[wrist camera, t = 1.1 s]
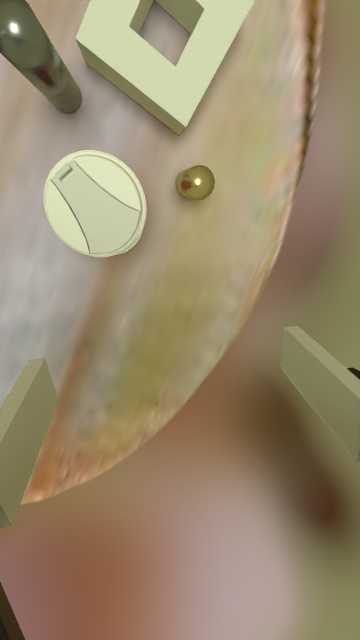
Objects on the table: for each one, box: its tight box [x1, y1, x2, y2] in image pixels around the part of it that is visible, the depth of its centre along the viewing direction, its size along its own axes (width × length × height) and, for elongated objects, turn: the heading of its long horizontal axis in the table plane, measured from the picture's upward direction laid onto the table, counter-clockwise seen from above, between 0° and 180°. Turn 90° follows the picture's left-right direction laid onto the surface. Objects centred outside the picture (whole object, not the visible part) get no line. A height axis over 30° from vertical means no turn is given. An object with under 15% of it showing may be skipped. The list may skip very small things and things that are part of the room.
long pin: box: [0, 0, 81, 113], centre depth 23 cm, size 3×3×14 cm
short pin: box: [176, 165, 215, 200], centre depth 31 cm, size 3×3×7 cm
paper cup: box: [44, 150, 146, 257], centre depth 27 cm, size 8×8×14 cm
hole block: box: [76, 0, 255, 135], centre depth 26 cm, size 11×11×5 cm
